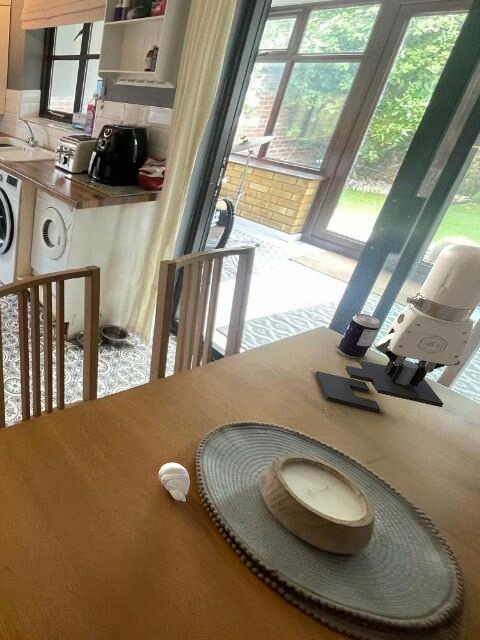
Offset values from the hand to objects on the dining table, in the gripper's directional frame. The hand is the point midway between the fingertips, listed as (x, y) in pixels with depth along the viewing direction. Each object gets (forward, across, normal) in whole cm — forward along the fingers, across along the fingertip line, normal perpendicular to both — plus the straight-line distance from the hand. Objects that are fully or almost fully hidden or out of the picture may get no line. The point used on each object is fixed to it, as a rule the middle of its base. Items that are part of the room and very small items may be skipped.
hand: (400, 379), depth 87 cm
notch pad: (+14, -2, +10) cm, 17 cm away
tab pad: (+1, -2, 0) cm, 2 cm away
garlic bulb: (+14, -42, -36) cm, 57 cm away
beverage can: (+14, +4, +29) cm, 33 cm away
